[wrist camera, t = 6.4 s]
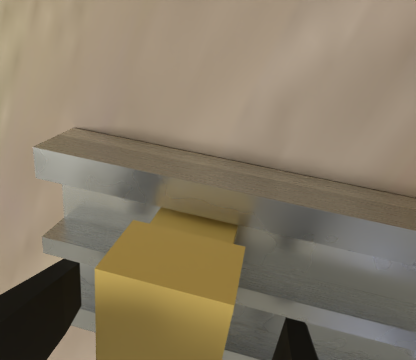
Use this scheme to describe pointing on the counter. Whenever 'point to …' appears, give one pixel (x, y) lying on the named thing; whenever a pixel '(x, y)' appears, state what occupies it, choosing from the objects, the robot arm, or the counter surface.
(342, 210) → the rail
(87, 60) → the counter surface
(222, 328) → the yellow block with ridge
